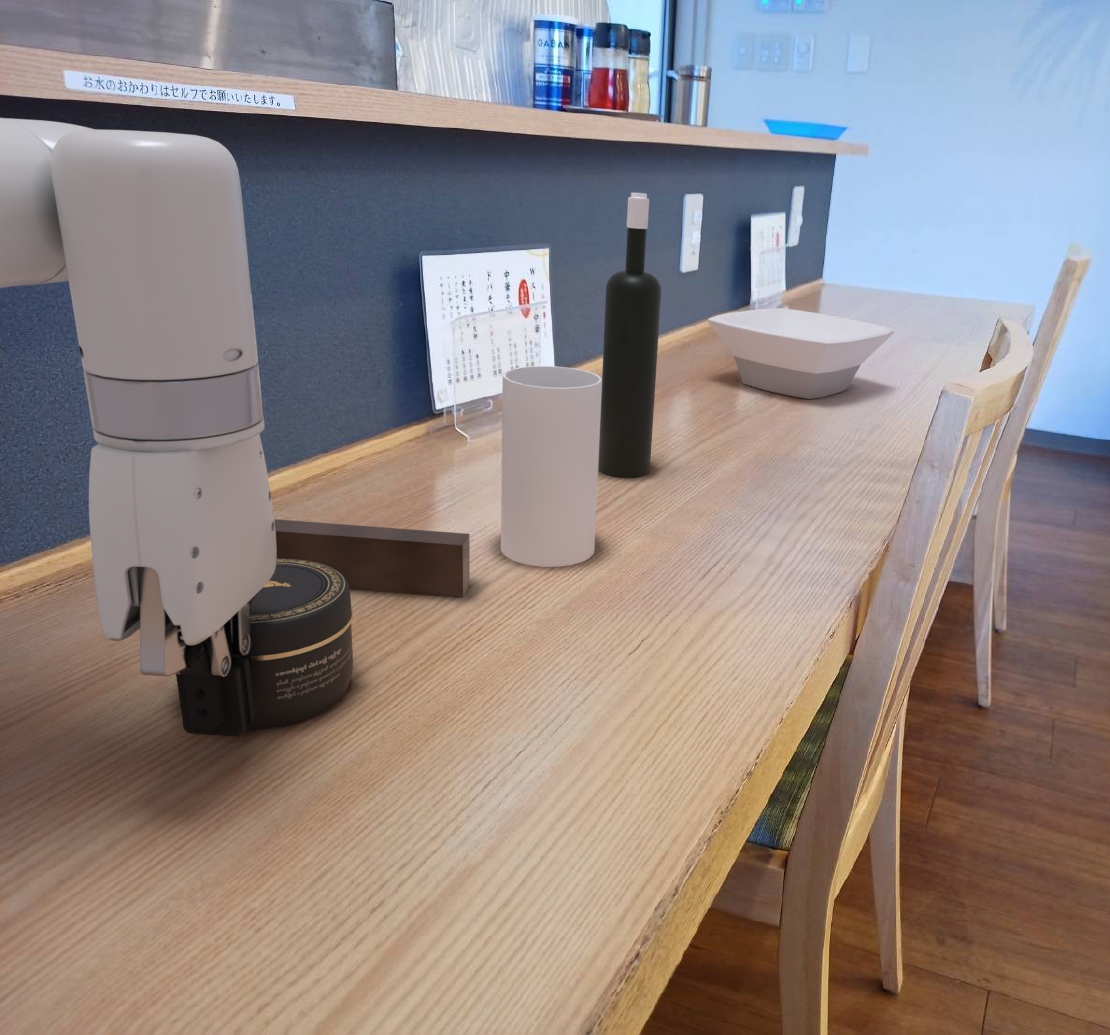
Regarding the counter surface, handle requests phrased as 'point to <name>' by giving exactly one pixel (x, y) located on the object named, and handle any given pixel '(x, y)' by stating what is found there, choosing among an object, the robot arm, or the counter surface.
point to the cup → (549, 464)
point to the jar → (299, 644)
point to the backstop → (382, 556)
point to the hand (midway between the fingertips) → (220, 726)
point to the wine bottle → (630, 356)
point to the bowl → (797, 349)
